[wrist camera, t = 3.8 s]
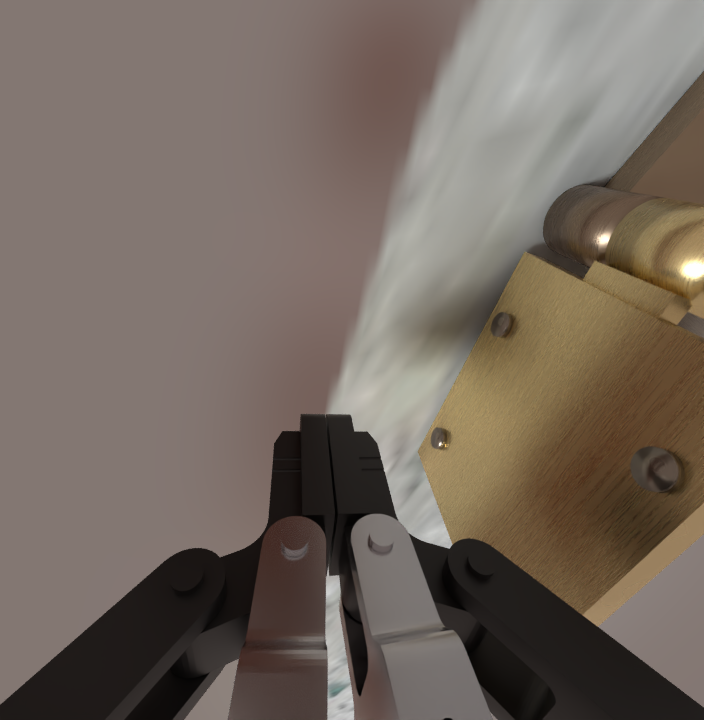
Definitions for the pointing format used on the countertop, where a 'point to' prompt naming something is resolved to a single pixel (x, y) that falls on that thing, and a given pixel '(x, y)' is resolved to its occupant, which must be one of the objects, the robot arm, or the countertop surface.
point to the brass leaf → (585, 416)
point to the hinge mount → (636, 188)
